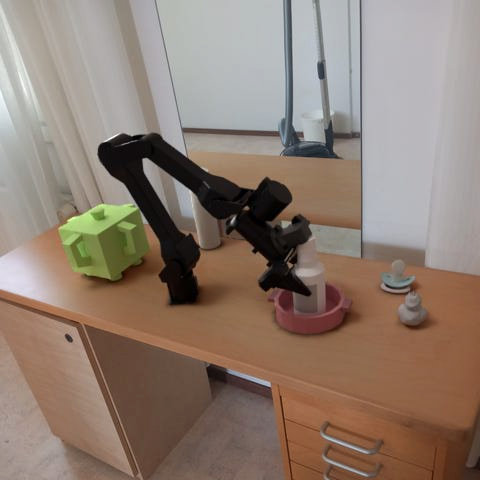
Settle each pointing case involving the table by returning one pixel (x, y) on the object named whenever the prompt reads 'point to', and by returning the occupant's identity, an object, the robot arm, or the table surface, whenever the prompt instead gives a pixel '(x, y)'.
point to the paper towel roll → (205, 224)
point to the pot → (311, 324)
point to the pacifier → (396, 278)
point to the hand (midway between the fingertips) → (315, 286)
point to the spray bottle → (310, 280)
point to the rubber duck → (412, 310)
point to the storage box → (105, 240)
